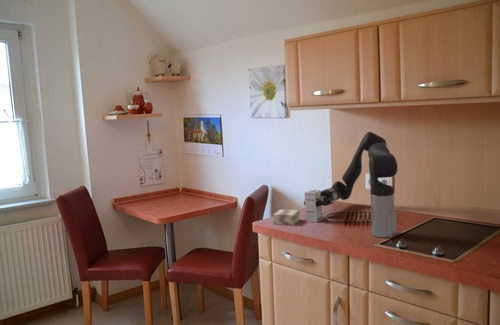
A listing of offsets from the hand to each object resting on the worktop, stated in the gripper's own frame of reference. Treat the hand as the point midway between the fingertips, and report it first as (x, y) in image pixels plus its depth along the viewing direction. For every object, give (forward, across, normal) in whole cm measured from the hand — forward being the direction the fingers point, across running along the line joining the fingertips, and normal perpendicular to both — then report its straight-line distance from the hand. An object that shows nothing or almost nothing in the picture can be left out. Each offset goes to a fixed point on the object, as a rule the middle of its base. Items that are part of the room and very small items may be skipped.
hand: (310, 204), depth 211 cm
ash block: (+5, -11, +9) cm, 15 cm away
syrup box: (-2, 0, +9) cm, 9 cm away
